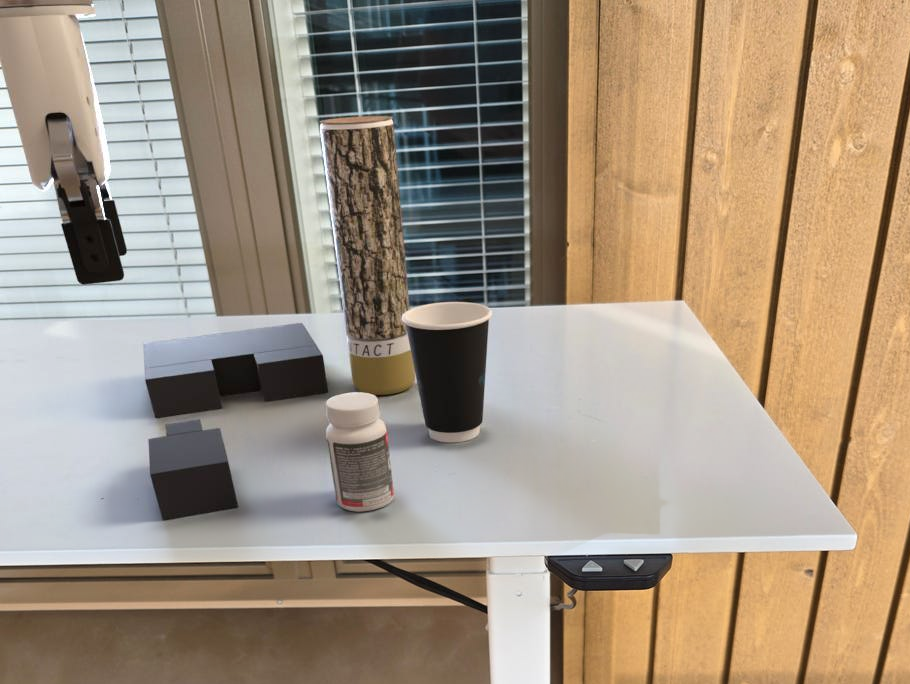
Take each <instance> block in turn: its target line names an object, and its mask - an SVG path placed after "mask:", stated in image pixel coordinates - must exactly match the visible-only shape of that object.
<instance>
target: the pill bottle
mask: <svg viewBox="0 0 910 684" xmlns="http://www.w3.org/2000/svg"><path fill="white" fill-rule="evenodd" d="M325 411H326V419H327V421H328V423H329V424H328V425H327V427H326V429H325V437H326V438H325V439H326V444H327V449H328V457H329V461H330V469H331V476H332V482H333V487H334V494H335V495H334V496H335V502H336V503H337V505H338V506H339V507H341V508H342V509H344V510H346V511H350V512H356V513H357V512H359V513H361V512H370V511H375V510H379V509H382V508H384V507H386V506H388V505H389V504H390V503H391V502H392V501H393V499H394V497H395V490H394V482H393V472H392V466H391V465H392V464H391V457H390V448H389V440H388V439H389V438H388V430H387V426H386V423H385V422H384V421H383V420H382V419H381V418H380V416H381V414H380V405H379V399H378V397H377V395H372V394H369V393H362V392H360V391H357V392H356V391H355V392H346V393H340V394H336V395H334V396H332V397H330V398H329V399H327V400H326V401H325Z"/></svg>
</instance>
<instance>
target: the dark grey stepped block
mask: <svg viewBox="0 0 910 684" xmlns="http://www.w3.org/2000/svg"><path fill="white" fill-rule="evenodd" d="M164 426H165V435H163V436H159V437H151V438H148V440H147V441H148V457H149V459H148V460H149V476H150V480H151V483H152V486H153V490H154V493H155V498H156V501H157V504H158V509H159V512H160V515H161V519H162V521H166V520H173V519H179V518H184V517H189V516H195V515H201V514H206V513H211V512H217V511H223V510H230V509H235V508H238V507H239V504H238V499H237V495H236V490H235V485H234V481H233V477H232V473H231V472H232V471H231V467H230V463H229V458H228V455H227V450H226V447H225V442H224V438H223V434H222V430H221V428H220V427H216V428H209V429H204V430H203V425H202V421H201V419H200V418H198V419H197V418H196V419H192V420H185V421H179V422H172V423H166V424H165V425H164Z"/></svg>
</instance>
